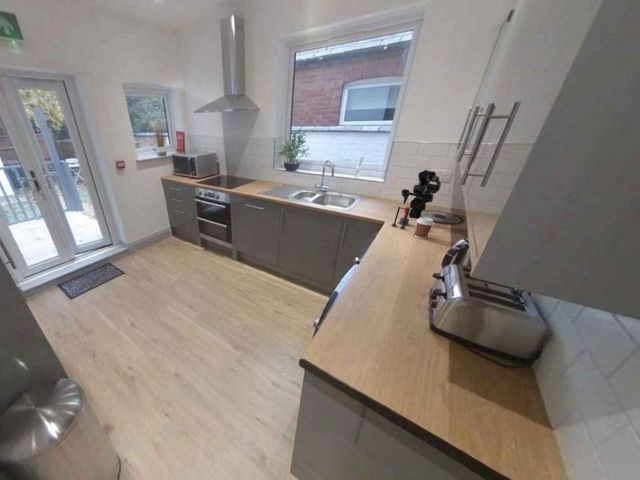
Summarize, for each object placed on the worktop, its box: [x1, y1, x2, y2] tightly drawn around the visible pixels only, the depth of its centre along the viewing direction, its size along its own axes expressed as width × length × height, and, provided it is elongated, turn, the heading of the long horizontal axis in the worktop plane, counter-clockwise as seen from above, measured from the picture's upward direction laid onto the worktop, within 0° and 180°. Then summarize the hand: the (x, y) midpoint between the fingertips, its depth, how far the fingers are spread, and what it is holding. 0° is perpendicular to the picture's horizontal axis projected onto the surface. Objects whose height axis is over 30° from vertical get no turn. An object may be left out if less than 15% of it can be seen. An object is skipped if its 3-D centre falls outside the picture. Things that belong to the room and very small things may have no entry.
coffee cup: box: [413, 216, 435, 240], centre depth 157 cm, size 9×9×12 cm
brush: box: [398, 206, 411, 226], centre depth 174 cm, size 6×5×12 cm
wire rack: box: [391, 206, 410, 230], centre depth 170 cm, size 2×8×14 cm, turn 39°
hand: (411, 205), depth 174 cm, fingers open, 9 cm apart
